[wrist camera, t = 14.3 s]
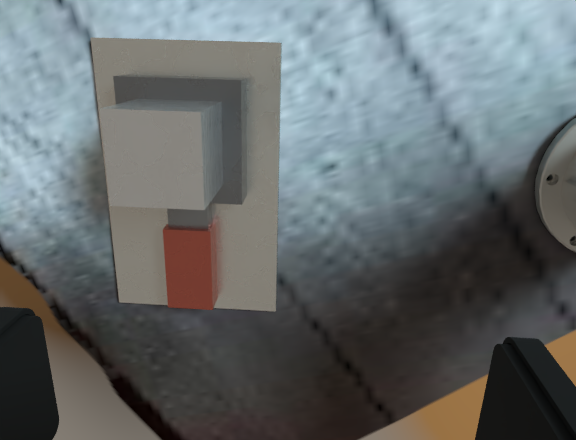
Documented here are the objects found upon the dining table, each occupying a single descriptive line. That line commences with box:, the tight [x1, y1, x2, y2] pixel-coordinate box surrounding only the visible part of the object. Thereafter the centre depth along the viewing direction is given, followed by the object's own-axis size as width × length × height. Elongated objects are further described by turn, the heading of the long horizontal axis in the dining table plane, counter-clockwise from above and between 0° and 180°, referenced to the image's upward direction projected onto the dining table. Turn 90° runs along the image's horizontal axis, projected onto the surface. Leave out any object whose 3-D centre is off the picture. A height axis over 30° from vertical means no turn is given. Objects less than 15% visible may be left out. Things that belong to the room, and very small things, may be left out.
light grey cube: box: [100, 99, 223, 210], centre depth 31 cm, size 6×6×6 cm
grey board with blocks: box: [91, 38, 282, 311], centre depth 35 cm, size 14×22×7 cm, turn 178°
